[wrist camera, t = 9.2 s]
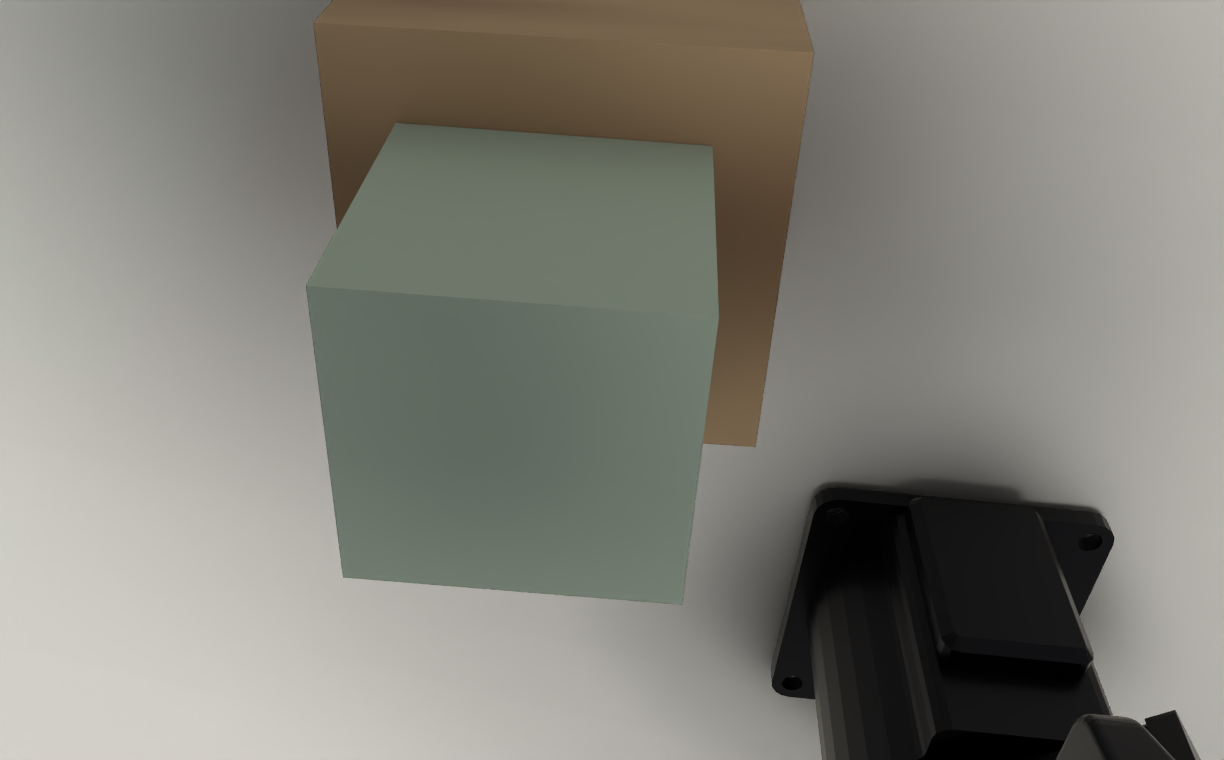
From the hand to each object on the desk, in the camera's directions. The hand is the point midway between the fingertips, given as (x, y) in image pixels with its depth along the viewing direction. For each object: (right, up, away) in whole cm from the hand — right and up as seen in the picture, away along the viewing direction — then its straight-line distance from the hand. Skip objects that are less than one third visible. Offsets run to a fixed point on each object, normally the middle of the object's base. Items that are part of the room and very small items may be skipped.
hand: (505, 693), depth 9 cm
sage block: (0, +4, +6) cm, 7 cm away
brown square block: (0, +6, +9) cm, 10 cm away
